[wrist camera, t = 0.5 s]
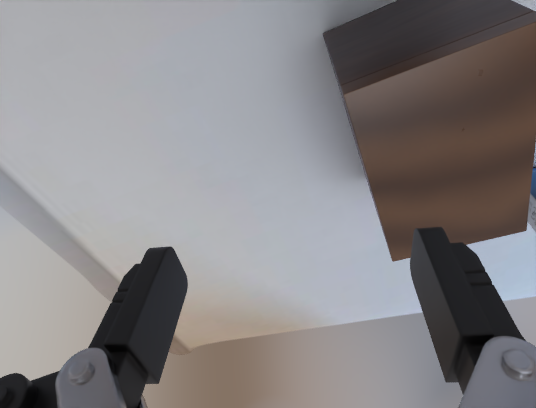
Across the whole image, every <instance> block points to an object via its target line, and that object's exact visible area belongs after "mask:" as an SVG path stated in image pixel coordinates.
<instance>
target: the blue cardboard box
mask: <svg viewBox="0 0 536 408" xmlns="http://www.w3.org/2000/svg"><path fill="white" fill-rule="evenodd" d="M527 221H528V223H529V224H530V225H531V227H532V228H533V229H534V231H535V232H536V168H534V169H533V171H532V181H531V191H530V200H529V210H528V220H527Z"/></svg>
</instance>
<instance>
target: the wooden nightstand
mask: <svg viewBox="0 0 536 408" xmlns="http://www.w3.org/2000/svg"><path fill="white" fill-rule="evenodd" d="M323 36H324V39H325V43H326V46H327V49H328V53H329V56H330V59H331V63H332V66H333V69H334V73H335V76H336V79H337V82H338V86H339V89H340V92H341V96H342V99H343V102H344V106H345V109H346V112H347V116H348V119H349V122H350V126H351V129H352V132H353V136H354V139H355V142H356V146H357V149H358V152H359V156H360V159H361V162H362V165H363V169H364V172H365V175H366V179H367V182H368V185H369V188H370V191H371V195H372V198H373V201H374V204H375V207H376V211H377V214H378V217H379V220H380V223H381V226H382V230H383V233H384V236H385V239H386V242H387V245H388V249H389V252H390V255H391V258H392V261H398V260H402V259H406V258H411V250H412V242H413V234H414V230H415V229H416V228H429V227H442V228H443V229H444V231H445V233H446V235H447V237H448V239H449V241H450V243H460V242H463V243H464V244H465V245H467V244H471V243H475V242H480V241H484V240H488V239H493V238H497V237H501V236H506V235H510V234H514V233H519V232H523V231H526V229H527V220H528V210H529V200H530V191H531V181H532V171H533V162H534V152H535V142H536V11H533V10H531V9H529V8H527V7H525V6H523V5H520V4H518V3H516V2H514V1H512V0H398V1H396V2H394V3H391V4H389V5H387V6H384V7H382V8H380V9H378V10H375V11H373V12H371V13H368V14H366V15H364V16H362V17H359V18H357V19H355V20H352V21H350V22H348V23H345V24H343V25H341V26H339V27H336V28H334V29H332V30H329V31H327V32H325V33H323Z"/></svg>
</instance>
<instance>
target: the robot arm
mask: <svg viewBox="0 0 536 408" xmlns="http://www.w3.org/2000/svg"><path fill="white" fill-rule="evenodd" d="M410 270H411V276H412V280H413V283H414V286H415V289H416V293H417V296H418V299H419V302H420V305H421V308H422V311H423V314H424V317H425V320H426V323H427V326H428V329H429V332H430V335H431V338H432V342H433V344H434V348H435V351H436V354H437V357H438V360H439V363H440V366H441V369H442V372H443V375H444V378H445V381H446V382H459V385H460V387H461V390H462V393H463V397H462V400H461V402H460V404H459V407H458V408H536V347H535V346H533V345H532V344H530V343H528V342H527V341H526V340H525V339H524V338H523V337H522V335H521V334H520V332H519V330H518V329H517V327H516V325H515V323H514V321H513V320H512V318H511V316H510V314H509V312H508V310H507V309H506V307H505V305H504V303H503V301H502V299H501V298H500V296H499V294H498V292H497V290H496V289H495V287H494V285H492V281H491V279H490V278H489V276H488V274H487V273H486V272H485V269H484V267H483V265H482V263H481V261H480V259H479V258H478V256H477V254H476V253H474V252H473V251H472V250H471V249H470V248H468V247H467V246H466V245H465V244H464V243H463V242H460V243H450V241H449V239H448V237H447V235H446V233H445V231H444V229H443V228H442V227H429V228H416V229H415V230H414V234H413V242H412V250H411V259H410ZM187 287H188V282H187V276H186V273H185V271H184V269H183V267H182V265H181V263H180V261H179V259H178V257H177V255H176V253H175V251H174V249H173V248H172V247H158V248H149V249H148V250H147V251H146V253H145V255H144V258H143V260H142V262H141V264H135V265H134V266H133V267H132V268H131V269H130V271H129V272H128V273H127V274H126V275H125V276H124V278H123V280H122V282H121V284H120V286H119V288H118V292H116V294H115V296H114V298H113V300H112V303H111V304H110V306H109V308H108V310H107V312H106V314H105V316H104V318H103V320H102V322H101V324H100V326H99V328H98V330H97V332H96V334H95V336H94V338H93V340H92V342H91V344H90V346H89V347H88V349H85V350H82V351H80V352H78V353H77V354H75V355H74V356H72V357H71V358H70V359H69V360H68V361H67V362H66V363H65V364H64V365H63V367H62V368H61V370H60V371H58V372H55V373H52V374H49V375H46V376H43V377H41V378H38V379H35V380H32V381H29V380H28V379H27V378H26V377H25V376H23V375H22V374H18V373H14V374H9V375H6V376H4V377H2V378H0V408H147V405H146V402H145V399H144V397H143V395H142V393H143V390H144V387H145V384H158V383H159V381H160V378H161V374H162V371H163V368H164V365H165V362H166V358H167V355H168V352H169V348H170V345H171V342H172V339H173V335H174V332H175V329H176V326H177V322H178V319H179V316H180V312H181V309H182V306H183V303H184V299H185V296H186V293H187Z"/></svg>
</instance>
